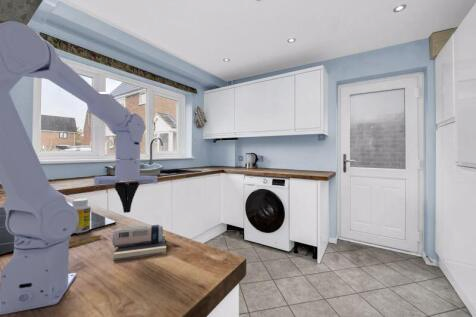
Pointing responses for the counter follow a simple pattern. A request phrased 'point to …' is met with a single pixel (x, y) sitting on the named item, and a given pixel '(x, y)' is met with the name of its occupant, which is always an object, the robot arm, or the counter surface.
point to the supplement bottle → (82, 215)
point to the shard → (82, 240)
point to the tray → (140, 250)
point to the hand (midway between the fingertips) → (127, 211)
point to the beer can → (137, 235)
